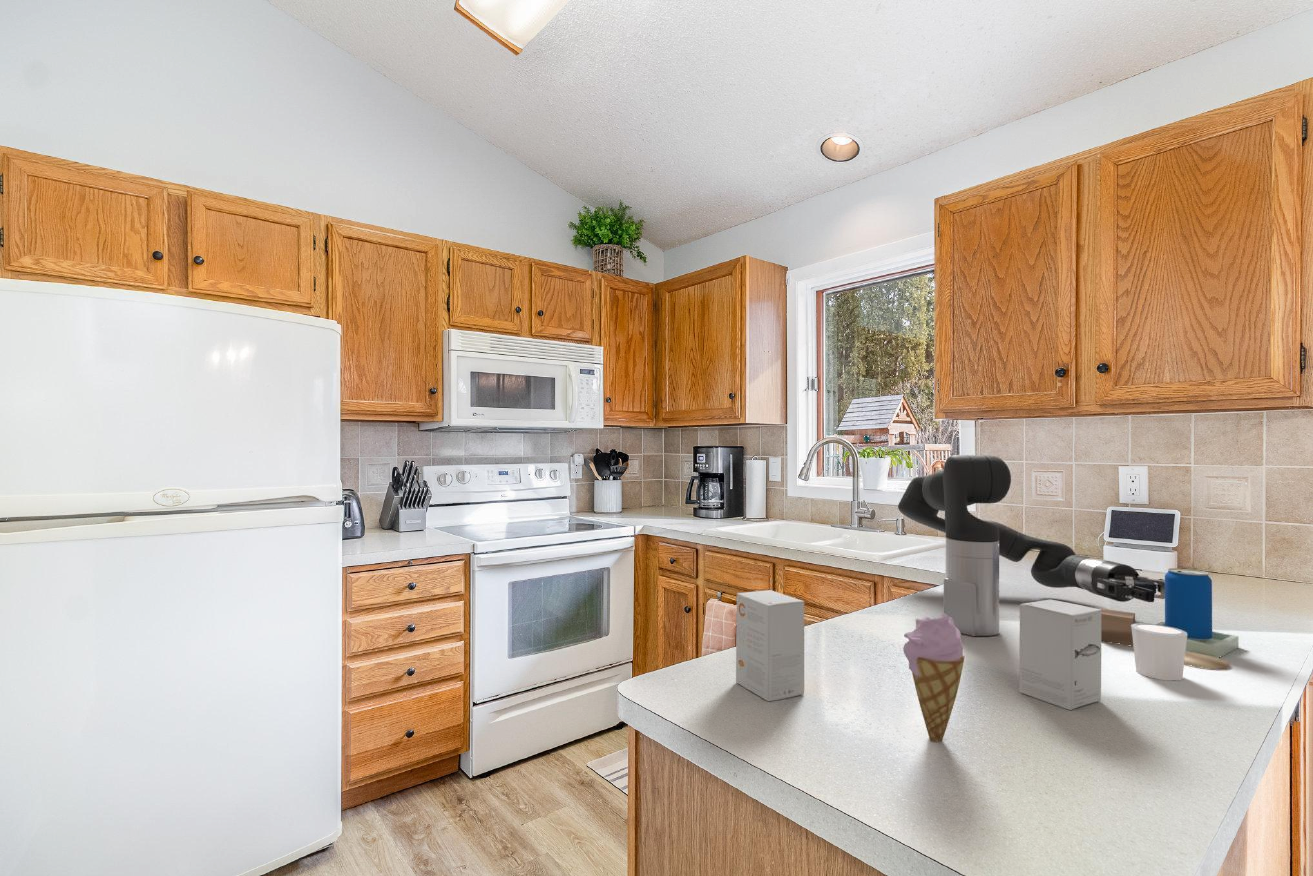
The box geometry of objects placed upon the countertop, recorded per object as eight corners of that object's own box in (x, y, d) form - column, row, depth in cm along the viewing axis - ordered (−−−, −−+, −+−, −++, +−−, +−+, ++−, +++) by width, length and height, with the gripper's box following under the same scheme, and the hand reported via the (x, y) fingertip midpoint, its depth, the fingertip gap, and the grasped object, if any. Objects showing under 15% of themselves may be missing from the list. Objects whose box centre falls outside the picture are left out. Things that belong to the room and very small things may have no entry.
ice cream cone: (932, 756, 70) (933, 620, 71) (891, 733, 76) (891, 607, 76) (975, 745, 73) (975, 614, 73) (932, 724, 79) (932, 602, 79)
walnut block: (1133, 647, 112) (1133, 618, 112) (1098, 641, 115) (1098, 613, 115) (1135, 640, 115) (1135, 613, 116) (1101, 635, 119) (1101, 608, 119)
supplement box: (1072, 712, 83) (1071, 615, 83) (1017, 692, 90) (1017, 602, 90) (1103, 702, 86) (1103, 609, 87) (1048, 684, 93) (1048, 597, 93)
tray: (1217, 658, 105) (1217, 646, 105) (1138, 641, 114) (1138, 630, 115) (1238, 647, 112) (1238, 636, 112) (1162, 632, 121) (1162, 621, 121)
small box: (805, 695, 88) (806, 600, 88) (767, 702, 85) (768, 605, 85) (770, 676, 95) (771, 588, 95) (734, 682, 92) (735, 592, 93)
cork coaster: (1220, 675, 99) (1220, 670, 99) (1157, 660, 105) (1157, 656, 105) (1236, 666, 103) (1236, 661, 103) (1175, 652, 110) (1175, 648, 110)
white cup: (1179, 670, 99) (1179, 625, 99) (1194, 685, 93) (1194, 637, 93) (1125, 664, 102) (1125, 620, 102) (1137, 678, 96) (1137, 631, 96)
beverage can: (1194, 634, 116) (1193, 568, 116) (1222, 645, 110) (1221, 575, 110) (1156, 632, 117) (1156, 567, 117) (1181, 643, 110) (1181, 574, 110)
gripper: (1139, 597, 132) (1211, 618, 116) (1073, 596, 131) (1137, 617, 115) (1139, 561, 132) (1211, 577, 116) (1073, 560, 132) (1137, 575, 115)
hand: (1174, 597), depth 116 cm, fingers open, 8 cm apart
